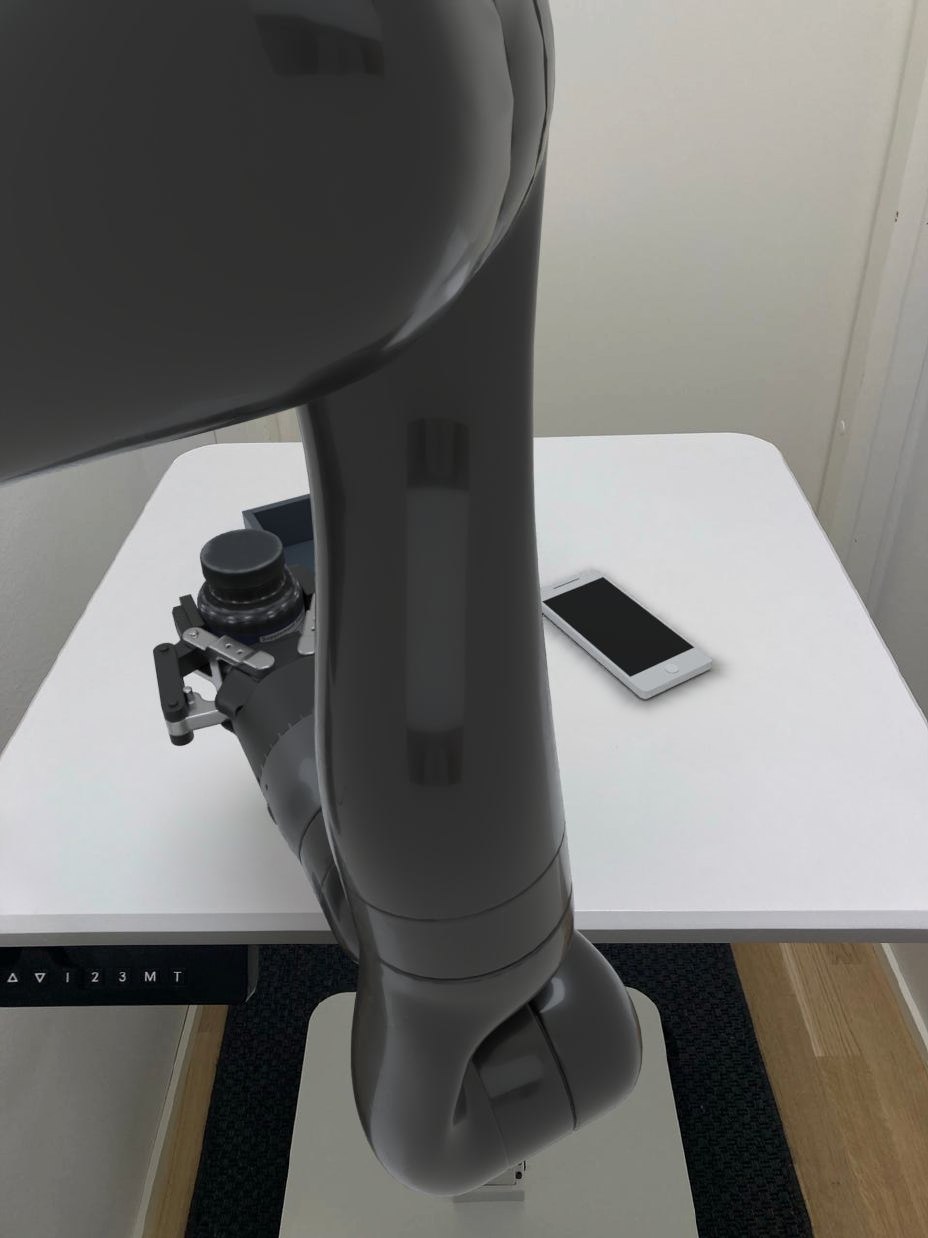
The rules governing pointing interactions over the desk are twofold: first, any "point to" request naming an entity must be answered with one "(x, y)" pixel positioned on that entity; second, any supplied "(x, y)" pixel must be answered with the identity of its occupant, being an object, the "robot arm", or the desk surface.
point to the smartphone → (622, 634)
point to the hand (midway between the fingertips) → (241, 592)
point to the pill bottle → (249, 588)
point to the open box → (287, 528)
